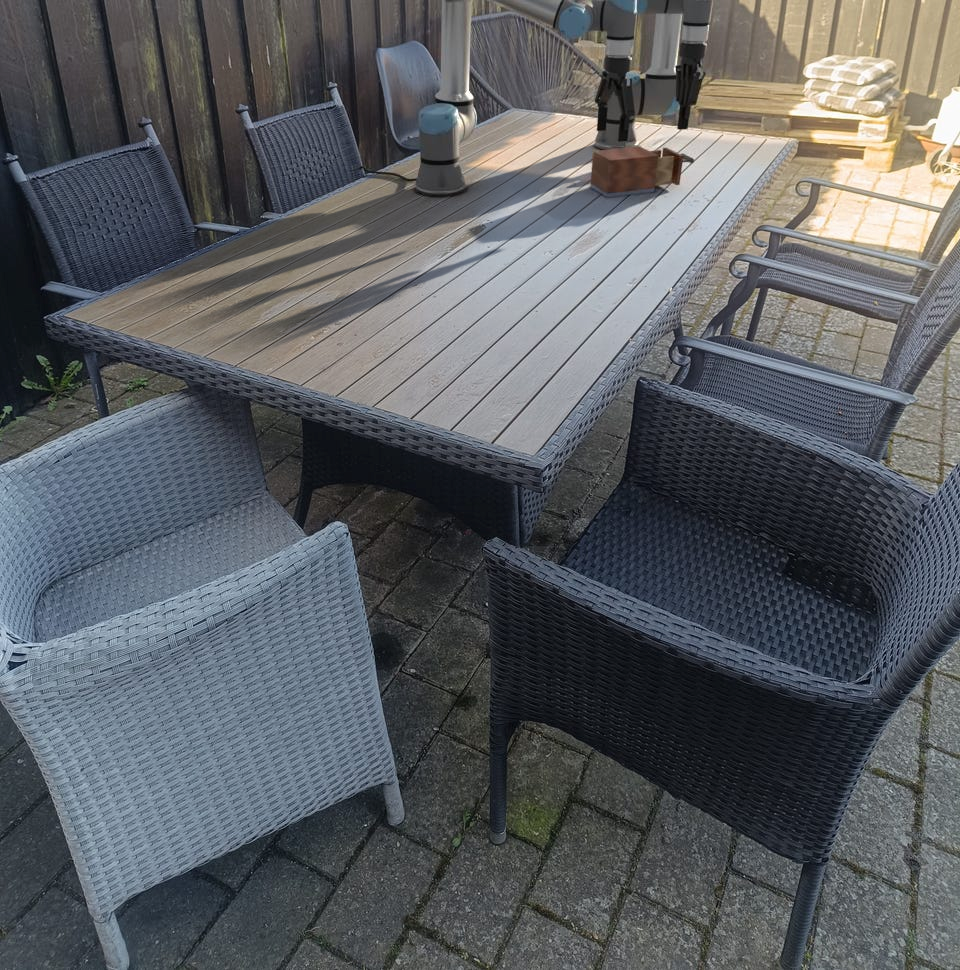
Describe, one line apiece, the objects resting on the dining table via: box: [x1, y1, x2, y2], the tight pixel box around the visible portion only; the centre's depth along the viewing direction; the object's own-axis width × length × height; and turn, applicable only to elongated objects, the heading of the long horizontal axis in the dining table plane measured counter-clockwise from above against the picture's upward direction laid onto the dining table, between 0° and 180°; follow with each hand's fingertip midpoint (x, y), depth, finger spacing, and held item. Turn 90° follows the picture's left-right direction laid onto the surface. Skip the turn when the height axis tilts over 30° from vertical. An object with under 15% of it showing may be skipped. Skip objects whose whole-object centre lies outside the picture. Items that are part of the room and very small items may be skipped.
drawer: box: [649, 147, 695, 187], centre depth 259 cm, size 20×10×9 cm, turn 110°
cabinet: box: [589, 145, 658, 198], centre depth 256 cm, size 16×11×11 cm
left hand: (611, 135), depth 248 cm, fingers open, 13 cm apart
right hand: (682, 128), depth 255 cm, fingers closed
